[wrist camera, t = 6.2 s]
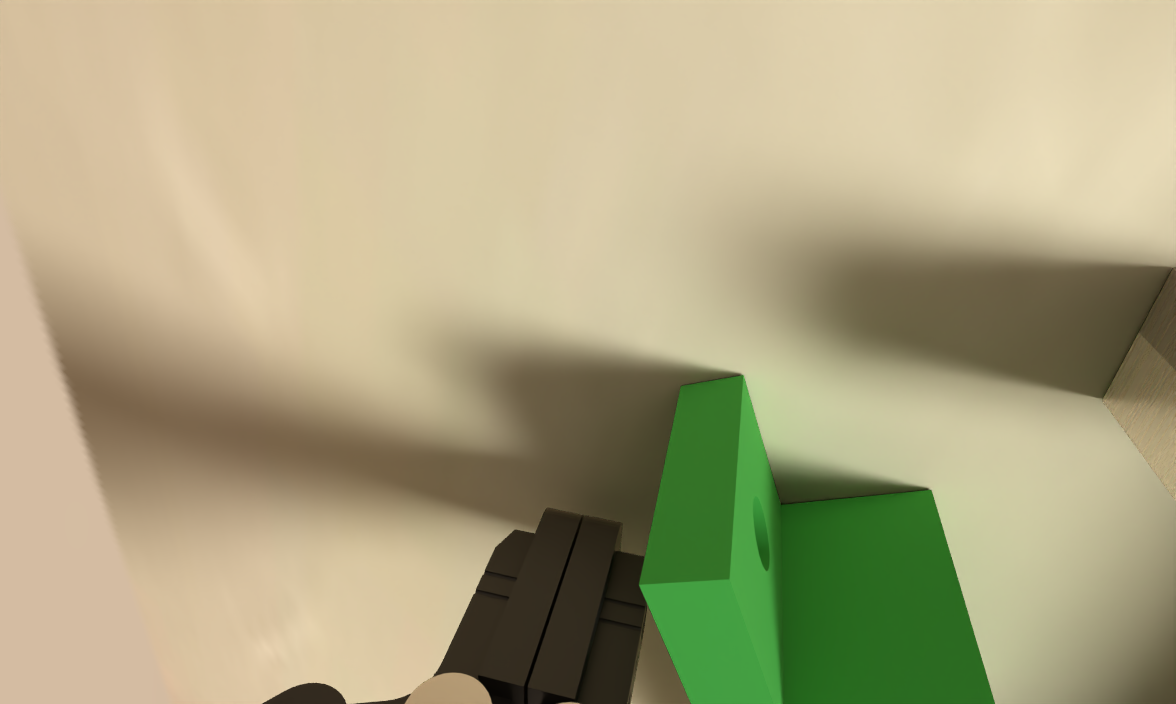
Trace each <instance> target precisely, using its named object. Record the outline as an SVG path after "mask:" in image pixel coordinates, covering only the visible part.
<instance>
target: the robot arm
mask: <svg viewBox="0 0 1176 704" xmlns="http://www.w3.org/2000/svg"><path fill="white" fill-rule="evenodd" d="M622 526H623V524H622V523H621V522H616V521H611V520H606V519H601V518H596V517H591V516H585V517H584V515H580V514H576V513H571V512H566V511H561V510H556V509H551V508H547V509H546V510H545V512H544V514H543V516H542V518H541V521H540V523H539V526H538V528H537V531H536V533H535V534H534V533H529V532H524V531H520V530H514V531H513V532H512V533H511V534H510V535H509V536H507V537H506V538H505V539H504V540H503V541H502V542H501V543H500V544H499V545H498V546H497V547H495V550H494V552H493V554H492V556H491V558H490V560H489V562H488V565H487V567H486V569H485V573H484V575H482V578H481V580H480V582H479V584H478V586H477V588H476V593H475V594H474V595H473V597H472V599H471V601H470V603H469V606H468V608H467V610H466V612H465V614H464V616H463V618H462V621H461V623H460V625H459V627H458V629H457V631H456V633H455V636H454V638H453V640H452V642H451V644H450V646H449V649H448V651H447V653H446V655H445V657H444V659H443V661H442V663H441V665H440V667H439V669H438V670H437V672H436V673H435V674H434V676H433V677H432V678H430V679H428V680H427V681H425V682H423V683H422V684H421V685H420V686H418V687H417V688H416V689H415V690H414V691H413V692H412V693H411V694H409V695H406V696H404V697H401V698H398V699H395V700H388V701H379V702H368V703H356V704H630V702H631V697H632V692H633V686H634V681H635V676H636V670H637V665H638V659H639V654H640V649H641V644H642V638H643V633H644V626H645V618H646V611H647V602H646V600H645V597H644V595H643V593H642V591H641V588H640V586H639V582H640V578H641V573H642V568H643V563H644V557H643V556H638V555H634V554H629V553H624V552H620V548H621V538H622ZM263 704H346V702H345V699H344V698H343V696H342V695H341V694H340V693H339V692H338V691H337V690H336V689H334V688H333V687H331V686H329V685H326V684H321V683H307V684H302V685H298V686H295V687H292V688H290V689H288V690H286V691H284V692H282V693H280V694H279V695H277V696H275V697H273V698H272V699H270V700H268V701H266V702H264V703H263Z"/></svg>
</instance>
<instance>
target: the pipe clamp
mask: <svg viewBox="0 0 1176 704" xmlns="http://www.w3.org/2000/svg"><path fill="white" fill-rule="evenodd" d="M639 586H640V588H641V591H642V593H643V595H644V597H645V600H646V602H647V604H648V607H649V609H650V611H651V614H652V616H653V618H654V620H655V623H656V625H657V627H658V630H659V632H660V634H661V636H662V639H663V641H664V643H665V646H666V648H667V650H668V652H669V655H670V657H671V659H672V662H673V664H674V666H675V668H676V671H677V673H678V675H679V678H680V680H681V682H682V684H683V687H684V689H685V691H686V694H687V696H688V698H689V700H690V703H691V704H995V702H994V699H993V695H992V692H991V689H990V685H989V682H988V679H987V675H986V672H985V668H984V665H983V662H982V658H981V655H980V652H979V648H978V645H977V642H976V638H975V635H974V631H973V628H972V625H971V621H970V618H969V615H968V611H967V608H966V605H965V601H964V598H963V594H962V591H961V588H960V584H959V581H958V578H957V574H956V571H955V568H954V564H953V561H952V557H951V554H950V551H949V547H948V544H947V541H946V537H945V534H944V531H943V527H942V524H941V520H940V517H939V514H938V510H937V507H936V504H935V500H934V497H933V494H932V490H924V491H914V492H904V493H894V494H884V495H874V496H864V497H854V498H844V499H834V500H824V501H814V502H804V503H794V504H784V505H781V503H780V500H779V496H778V493H777V489H776V486H775V483H774V479H773V476H772V472H771V469H770V465H769V462H768V458H767V455H766V451H765V448H764V445H763V441H762V438H761V434H760V431H759V427H758V424H757V420H756V417H755V413H754V410H753V407H752V403H751V400H750V396H749V393H748V389H747V386H746V382H745V379H744V375H741V376H735V377H730V378H724V379H718V380H712V381H707V382H701V383H695V384H689V385H683V386H681V388H680V393H679V397H678V402H677V407H676V412H675V416H674V421H673V426H672V431H671V435H670V440H669V445H668V450H667V454H666V459H665V464H664V469H663V473H662V478H661V483H660V488H659V492H658V497H657V502H656V507H655V511H654V516H653V521H652V525H651V530H650V535H649V540H648V544H647V549H646V554H645V559H644V563H643V568H642V573H641V578H640V582H639Z"/></svg>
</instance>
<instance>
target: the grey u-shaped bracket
mask: <svg viewBox="0 0 1176 704" xmlns="http://www.w3.org/2000/svg"><path fill="white" fill-rule="evenodd" d="M1102 401H1103V402H1104V404H1105V405H1106V406H1107V408H1108V409H1109V410H1110V412H1111V413H1112V414H1113V416H1114V417H1115V419H1116V420H1117V421H1118V423H1119V424H1120V425H1121V427H1122V428H1123V429H1124V431H1125V432H1126V434H1127V435H1128V436H1129V438H1130V439H1131V440H1132V442H1133V443H1134V445H1135V446H1136V447H1137V449H1138V450H1139V451H1140V453H1141V454H1142V455H1143V457H1144V458H1145V460H1146V461H1147V462H1148V464H1149V465H1150V466H1151V468H1152V469H1153V470H1154V472H1155V473H1156V475H1157V476H1158V477H1159V479H1160V480H1161V481H1162V483H1163V484H1164V485H1165V487H1166V488H1167V490H1168V491H1169V492H1170V494H1171V495H1172V496H1173V498H1174V499H1175V500H1176V269H1175V268H1173V269H1172V271H1171V273H1170V275H1169V277H1168V279H1167V281H1166V282H1165V284H1164V286H1163V288H1162V290H1161V292H1160V294H1159V296H1158V297H1157V299H1156V301H1155V303H1154V305H1153V307H1152V309H1151V310H1150V312H1149V314H1148V316H1147V318H1146V320H1145V322H1144V323H1143V325H1142V327H1141V329H1140V331H1139V333H1138V335H1137V337H1136V338H1135V340H1134V342H1133V344H1132V346H1131V348H1130V350H1129V351H1128V353H1127V355H1126V357H1125V359H1124V361H1123V363H1122V365H1121V366H1120V368H1119V370H1118V372H1117V374H1116V376H1115V378H1114V379H1113V381H1112V383H1111V385H1110V387H1109V389H1108V391H1107V392H1106V394H1105V396H1104V398H1103V400H1102Z"/></svg>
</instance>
